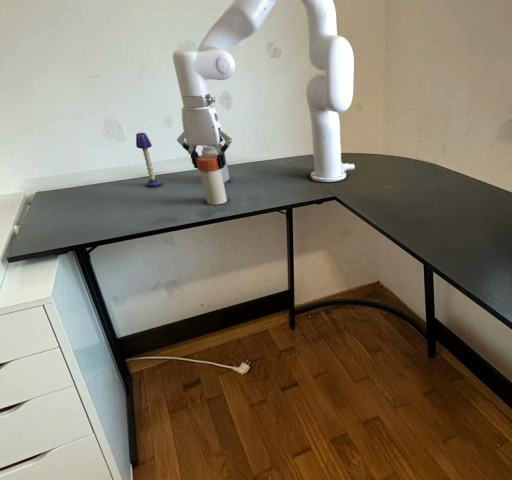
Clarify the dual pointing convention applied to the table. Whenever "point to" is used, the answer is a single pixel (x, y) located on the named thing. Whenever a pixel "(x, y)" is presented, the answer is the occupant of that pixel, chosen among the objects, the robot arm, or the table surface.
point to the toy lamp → (147, 157)
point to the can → (213, 151)
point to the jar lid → (207, 162)
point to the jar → (214, 187)
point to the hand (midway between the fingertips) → (209, 166)
